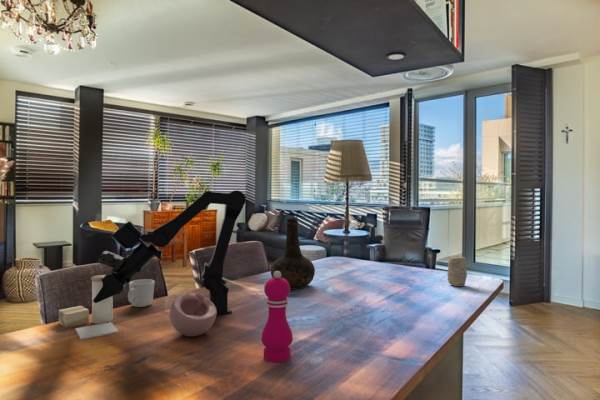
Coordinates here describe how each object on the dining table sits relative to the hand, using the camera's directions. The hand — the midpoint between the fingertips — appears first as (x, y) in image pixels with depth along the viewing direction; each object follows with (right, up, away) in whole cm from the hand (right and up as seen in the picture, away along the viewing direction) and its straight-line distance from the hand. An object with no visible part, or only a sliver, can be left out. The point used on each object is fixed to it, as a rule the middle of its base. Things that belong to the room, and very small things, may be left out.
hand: (97, 298), depth 114 cm
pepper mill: (+54, -7, -24) cm, 60 cm away
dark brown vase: (+57, -6, +43) cm, 72 cm away
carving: (+125, -7, +46) cm, 133 cm away
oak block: (-6, -7, -1) cm, 9 cm away
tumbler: (+1, -7, 0) cm, 7 cm away
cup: (+6, -7, +15) cm, 18 cm away
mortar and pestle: (+31, -7, -11) cm, 34 cm away
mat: (+4, -7, -8) cm, 11 cm away
